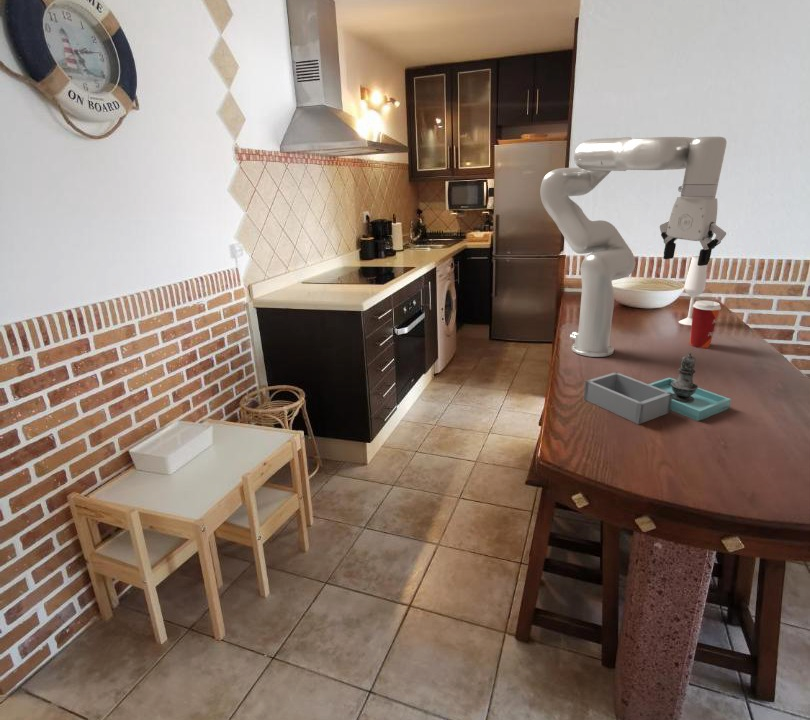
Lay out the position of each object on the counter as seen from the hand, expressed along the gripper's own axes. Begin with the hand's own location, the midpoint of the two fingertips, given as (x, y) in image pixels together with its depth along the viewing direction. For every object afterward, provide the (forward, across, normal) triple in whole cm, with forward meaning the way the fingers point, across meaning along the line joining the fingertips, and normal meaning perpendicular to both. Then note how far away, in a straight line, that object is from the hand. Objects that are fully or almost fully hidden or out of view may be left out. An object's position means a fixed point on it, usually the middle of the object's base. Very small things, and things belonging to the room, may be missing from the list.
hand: (684, 261), depth 128 cm
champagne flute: (+32, -28, +49) cm, 65 cm away
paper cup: (+32, -10, +30) cm, 45 cm away
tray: (+31, +15, -12) cm, 36 cm away
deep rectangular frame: (+31, +9, -25) cm, 41 cm away
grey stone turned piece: (+30, +14, -12) cm, 36 cm away
